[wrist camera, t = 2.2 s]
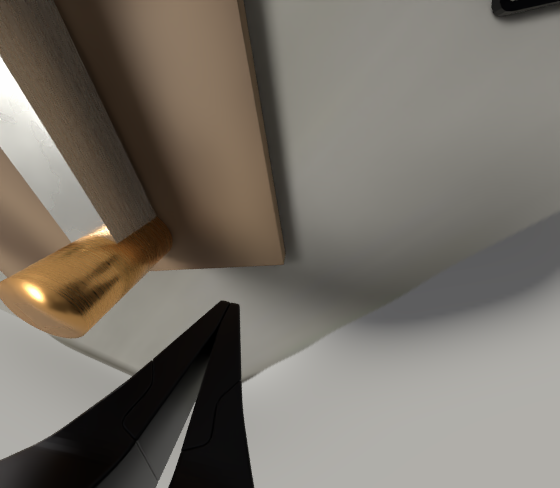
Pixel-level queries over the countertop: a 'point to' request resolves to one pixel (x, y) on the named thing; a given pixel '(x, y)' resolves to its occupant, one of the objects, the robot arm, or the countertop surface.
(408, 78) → the countertop surface
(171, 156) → the board
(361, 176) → the countertop surface
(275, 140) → the countertop surface
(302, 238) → the countertop surface
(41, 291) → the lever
